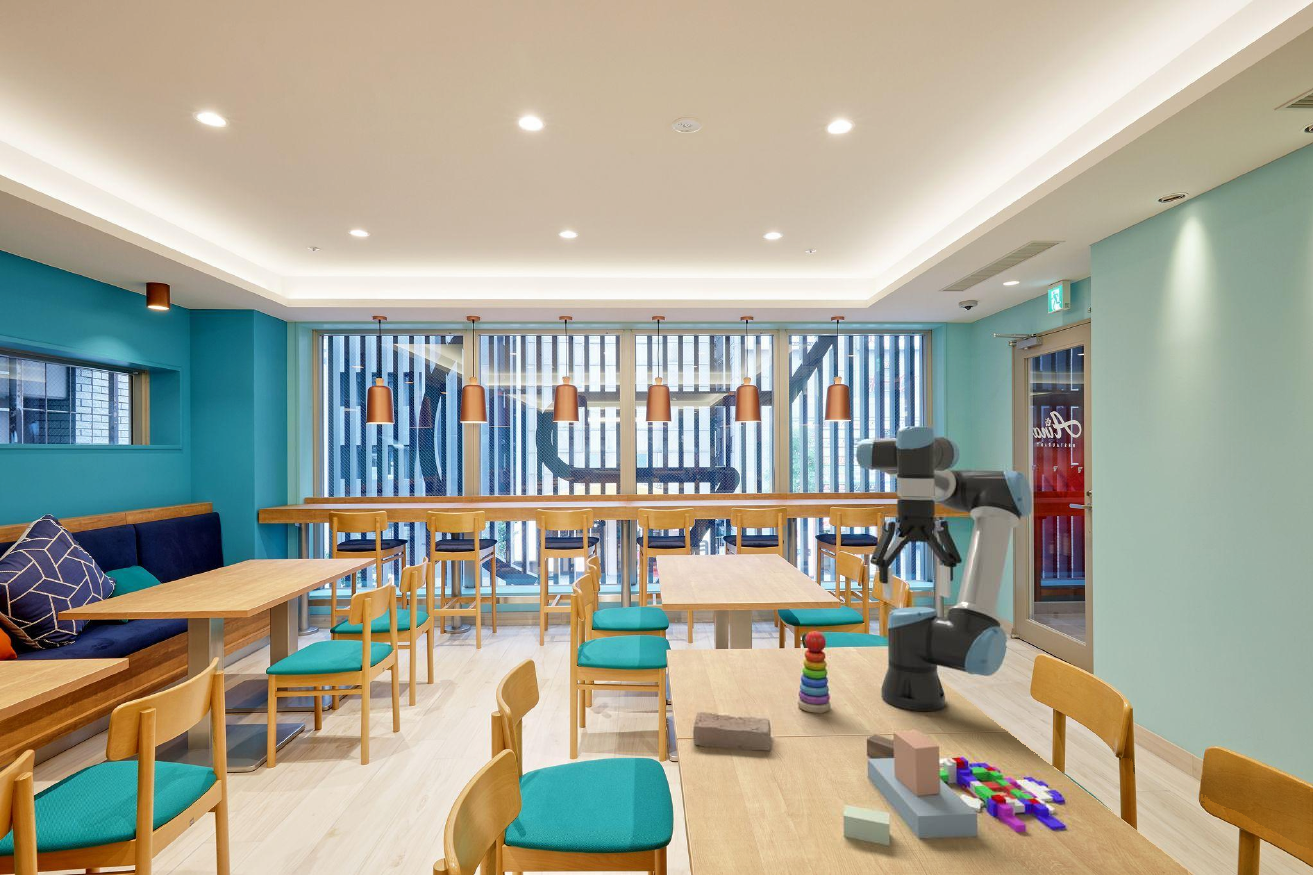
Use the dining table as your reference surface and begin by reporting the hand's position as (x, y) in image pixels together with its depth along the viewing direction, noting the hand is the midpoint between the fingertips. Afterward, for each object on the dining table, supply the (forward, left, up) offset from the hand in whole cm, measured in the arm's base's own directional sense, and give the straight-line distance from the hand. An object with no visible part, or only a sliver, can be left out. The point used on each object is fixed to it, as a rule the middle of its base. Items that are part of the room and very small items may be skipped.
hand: (916, 597), depth 138 cm
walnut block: (+9, +3, -32) cm, 33 cm away
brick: (+37, -11, -32) cm, 51 cm away
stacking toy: (+12, -25, -32) cm, 42 cm away
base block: (+13, +20, -32) cm, 40 cm away
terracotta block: (+14, +20, -28) cm, 37 cm away
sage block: (+27, +27, -32) cm, 50 cm away
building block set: (-4, +19, -32) cm, 38 cm away
